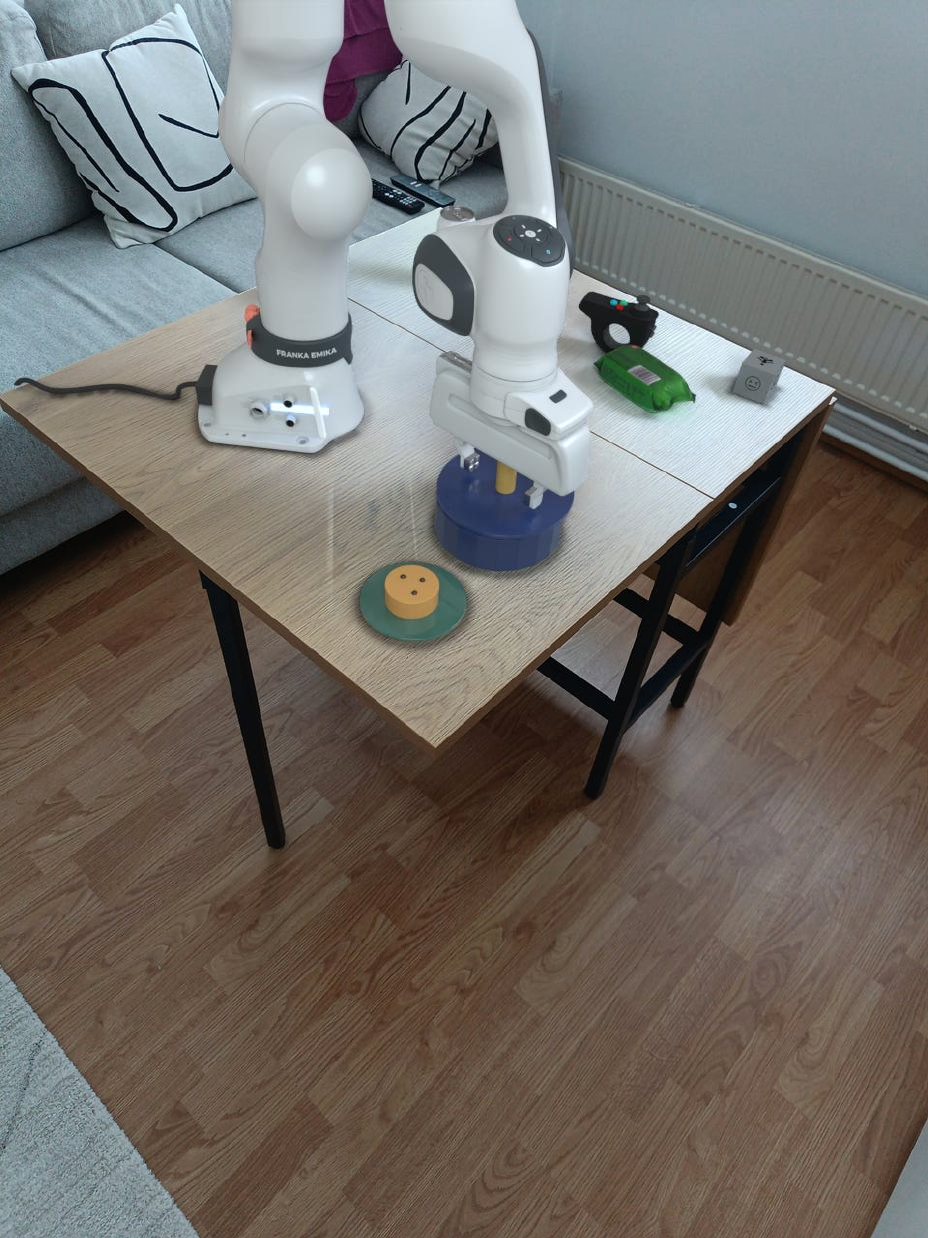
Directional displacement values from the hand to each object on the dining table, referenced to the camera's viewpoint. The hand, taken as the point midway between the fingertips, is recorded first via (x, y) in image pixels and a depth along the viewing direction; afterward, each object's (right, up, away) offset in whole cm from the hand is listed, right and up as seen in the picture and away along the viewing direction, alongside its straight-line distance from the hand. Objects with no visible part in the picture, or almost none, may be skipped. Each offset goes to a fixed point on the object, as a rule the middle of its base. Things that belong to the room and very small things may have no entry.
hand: (500, 485), depth 102 cm
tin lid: (+1, 0, +2) cm, 2 cm away
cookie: (-10, -13, -4) cm, 17 cm away
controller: (+19, +26, +35) cm, 48 cm away
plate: (-10, -14, -4) cm, 17 cm away
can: (-6, +41, +47) cm, 63 cm away
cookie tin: (0, -5, +6) cm, 7 cm away
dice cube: (+40, +19, +30) cm, 53 cm away
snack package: (+22, +18, +28) cm, 39 cm away
